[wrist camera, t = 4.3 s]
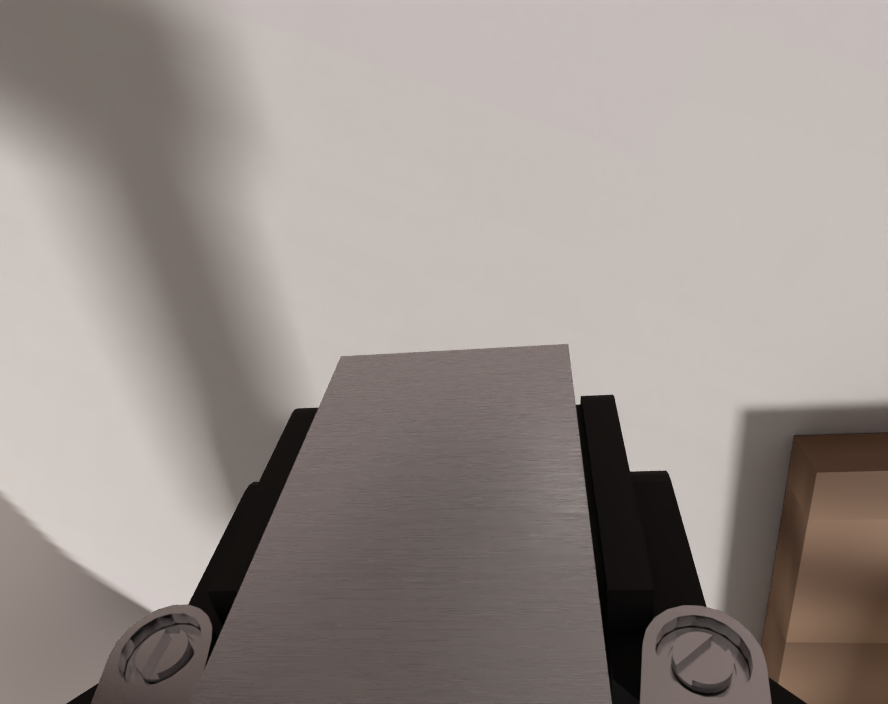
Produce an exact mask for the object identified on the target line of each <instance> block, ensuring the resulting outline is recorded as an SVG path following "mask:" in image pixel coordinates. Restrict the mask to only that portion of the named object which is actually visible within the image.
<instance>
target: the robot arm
mask: <svg viewBox="0 0 888 704" xmlns="http://www.w3.org/2000/svg"><path fill="white" fill-rule="evenodd" d="M317 410H318V408H299V409H295V410H294V411H293V413H292V415H291V417H290V419H289V421H288V423H287V425H286V427H285V429H284V431H283V433H282V435H281V437H280V439H279V442H278V444H277V446H276V448H275V450H274V452H273V454H272V456H271V458H270V460H269V462H268V464H267V466H266V468H265V470H264V473H263V475H262V477H261V479H260V481H259V482H253V483H252V484H250V485H249V486H248V488H247V489H246V491H245V492H244V494H243V496H242V498H241V500H240V502H239V504H238V506H237V508H236V510H235V512H234V514H233V516H232V518H231V520H230V522H229V524H228V526H227V528H226V530H225V532H224V534H223V536H222V538H221V540H220V542H219V544H218V546H217V548H216V550H215V552H214V554H213V556H212V558H211V560H210V562H209V564H208V566H207V568H206V570H205V572H204V574H203V576H202V578H201V580H200V582H199V584H198V586H197V588H196V590H195V592H194V594H193V596H192V598H191V600H190V602H189V604H188V605H172V606H168V607H165V608H161V609H158V610H156V611H154V612H152V613H150V614H148V615H146V616H144V617H143V618H141V619H140V620H138V621H137V622H136V623H135V624H133V625H132V626H131V627H129V628H128V629H127V631H126V632H125V633H124V634H123V635H122V636H121V637H120V639H119V640H118V641H117V642H116V644H115V646H114V648H113V650H112V651H111V653H110V655H109V658H108V660H107V663H106V665H105V668H104V670H103V673H102V676H101V678H100V681H99V683H98V684H97V685H95V686H93V687H92V688H90V689H89V690H87V691H86V692H84V693H83V694H81V695H79V696H78V697H76V698H75V699H73V700H71V701H70V702H68V703H67V704H190V702H191V699H192V697H193V695H194V692H195V690H196V688H197V686H198V683H199V681H200V679H201V676H202V674H203V672H204V670H205V667H206V665H207V663H208V660H209V658H210V656H211V653H212V651H213V649H214V647H215V644H216V642H217V640H218V637H219V635H220V633H221V631H222V628H223V626H224V624H225V621H226V619H227V617H228V614H229V612H230V610H231V608H232V605H233V603H234V601H235V598H236V596H237V594H238V592H239V589H240V587H241V585H242V582H243V580H244V578H245V575H246V573H247V571H248V569H249V566H250V564H251V562H252V559H253V557H254V555H255V553H256V550H257V548H258V546H259V543H260V541H261V539H262V536H263V534H264V532H265V530H266V527H267V525H268V523H269V520H270V518H271V516H272V514H273V511H274V509H275V507H276V504H277V502H278V500H279V497H280V495H281V493H282V491H283V488H284V486H285V484H286V481H287V479H288V477H289V475H290V472H291V470H292V468H293V465H294V463H295V461H296V458H297V456H298V454H299V452H300V449H301V447H302V445H303V442H304V440H305V438H306V436H307V433H308V431H309V429H310V426H311V424H312V422H313V419H314V417H315V415H316V413H317ZM576 413H577V421H578V429H579V437H580V445H581V454H582V462H583V470H584V478H585V487H586V495H587V503H588V511H589V520H590V528H591V536H592V544H593V552H594V561H595V569H596V577H597V585H598V594H599V602H600V610H601V618H602V627H603V635H604V643H605V651H606V660H607V668H608V676H609V684H610V692H611V701H612V704H807V703H805V702H804V701H803V700H801V699H800V698H798V697H797V696H795V695H794V694H792V693H791V692H790V691H788V690H787V689H785V688H784V687H782V686H781V685H779V684H778V683H777V682H775V681H774V680H772V679H771V678H769V677H768V671H767V664H766V661H765V657H764V654H763V651H762V648H761V646H760V645H759V643H758V642H757V640H756V639H755V638H754V636H753V635H752V633H751V632H750V631H749V630H748V629H746V628H745V627H744V626H743V625H742V624H741V623H740V622H738V621H737V620H736V619H734V618H732V617H730V616H728V615H727V614H725V613H723V612H721V611H719V610H715V609H711V608H708V607H706V604H705V600H704V596H703V593H702V589H701V586H700V582H699V579H698V575H697V572H696V568H695V564H694V561H693V557H692V554H691V550H690V547H689V543H688V540H687V536H686V533H685V529H684V525H683V522H682V518H681V515H680V511H679V508H678V504H677V501H676V497H675V493H674V490H673V486H672V483H671V480H670V477H669V474H668V473H667V471H637V472H630V470H629V465H628V461H627V456H626V451H625V446H624V441H623V437H622V432H621V427H620V422H619V417H618V413H617V408H616V403H615V398H614V396H613V395H597V396H581V405H576Z"/></svg>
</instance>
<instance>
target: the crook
mask: <svg viewBox="0 0 888 704" xmlns="http://www.w3.org/2000/svg"><path fill="white" fill-rule="evenodd" d="M190 704H612V701H611V692H610V684H609V676H608V668H607V660H606V651H605V643H604V635H603V627H602V618H601V610H600V602H599V594H598V585H597V577H596V569H595V561H594V552H593V544H592V536H591V528H590V520H589V511H588V503H587V495H586V487H585V478H584V470H583V462H582V454H581V445H580V437H579V429H578V421H577V413H576V404H575V396H574V388H573V380H572V371H571V363H570V355H569V347H568V344H559V345H541V346H523V347H504V348H486V349H468V350H450V351H431V352H413V353H395V354H376V355H358V356H341V358H340V360H339V362H338V364H337V367H336V369H335V371H334V374H333V376H332V378H331V380H330V383H329V385H328V387H327V390H326V392H325V394H324V397H323V399H322V401H321V403H320V406H319V408H318V410H317V413H316V415H315V417H314V419H313V422H312V424H311V426H310V429H309V431H308V433H307V436H306V438H305V440H304V442H303V445H302V447H301V449H300V452H299V454H298V456H297V458H296V461H295V463H294V465H293V468H292V470H291V472H290V475H289V477H288V479H287V481H286V484H285V486H284V488H283V491H282V493H281V495H280V497H279V500H278V502H277V504H276V507H275V509H274V511H273V514H272V516H271V518H270V520H269V523H268V525H267V527H266V530H265V532H264V534H263V536H262V539H261V541H260V543H259V546H258V548H257V550H256V553H255V555H254V557H253V559H252V562H251V564H250V566H249V569H248V571H247V573H246V575H245V578H244V580H243V582H242V585H241V587H240V589H239V592H238V594H237V596H236V598H235V601H234V603H233V605H232V608H231V610H230V612H229V614H228V617H227V619H226V621H225V624H224V626H223V628H222V631H221V633H220V635H219V637H218V640H217V642H216V644H215V647H214V649H213V651H212V653H211V656H210V658H209V660H208V663H207V665H206V667H205V670H204V672H203V674H202V676H201V679H200V681H199V683H198V686H197V688H196V690H195V692H194V695H193V697H192V699H191V702H190Z"/></svg>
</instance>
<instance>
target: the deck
mask: <svg viewBox="0 0 888 704" xmlns="http://www.w3.org/2000/svg"><path fill="white" fill-rule="evenodd" d="M761 648H762V651H763V654H764V657H765V661H766V664H767V671H768V677H769V678H771V679H772V680H774V681H775V682H777V683H778V684H779V685H781V686H782V687H784V688H785V689H787V690H788V691H790V692H791V693H792V694H794V695H795V696H797V697H798V698H800V699H801V700H803V701H804V702H805V703H807V704H888V433H864V434H834V435H804V436H794V441H793V447H792V454H791V460H790V466H789V473H788V479H787V485H786V492H785V498H784V504H783V511H782V517H781V523H780V530H779V536H778V543H777V549H776V555H775V562H774V568H773V574H772V581H771V587H770V593H769V600H768V606H767V613H766V619H765V625H764V632H763V638H762V644H761Z"/></svg>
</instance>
